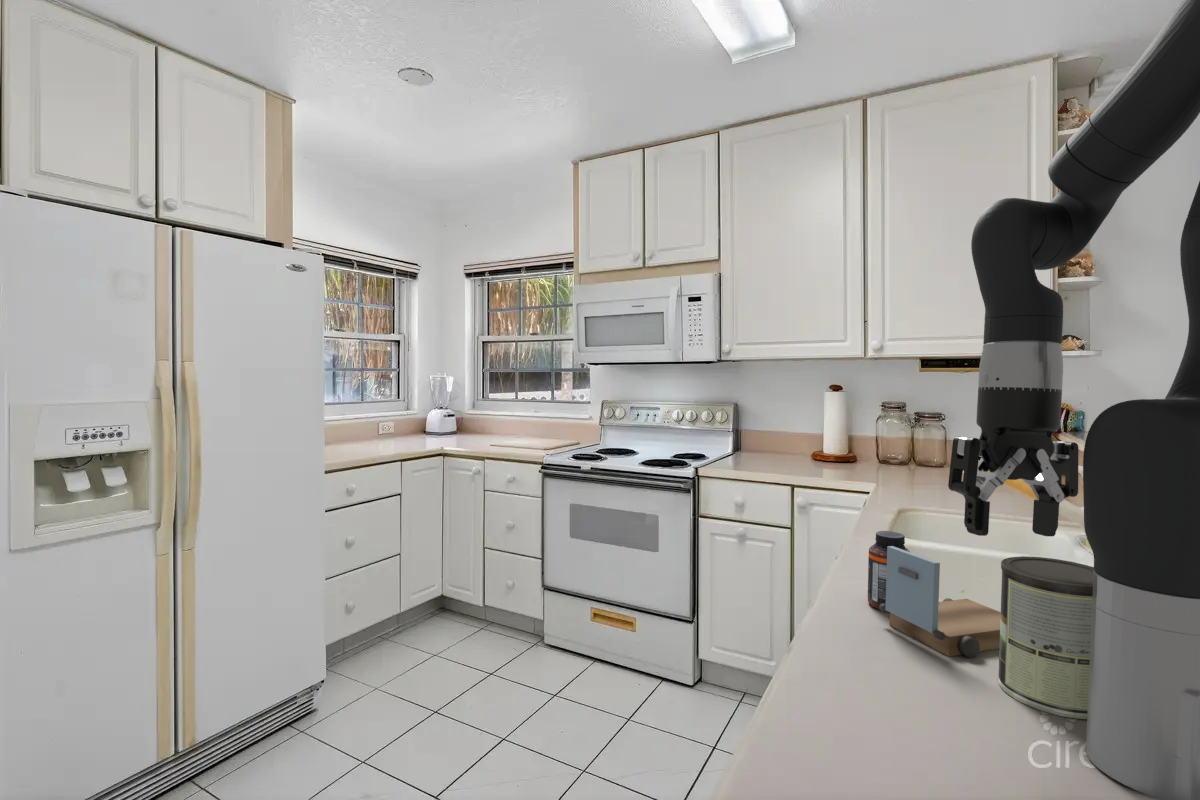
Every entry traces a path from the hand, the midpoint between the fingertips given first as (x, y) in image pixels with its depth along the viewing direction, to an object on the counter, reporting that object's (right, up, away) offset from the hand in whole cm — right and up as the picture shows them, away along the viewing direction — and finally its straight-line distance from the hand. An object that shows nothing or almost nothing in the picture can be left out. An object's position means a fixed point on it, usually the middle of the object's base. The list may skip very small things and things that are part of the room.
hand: (1010, 534), depth 66 cm
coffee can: (+5, -18, +1) cm, 19 cm away
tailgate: (-3, -15, +15) cm, 22 cm away
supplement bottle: (0, -17, +27) cm, 32 cm away
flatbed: (+4, -18, +17) cm, 25 cm away
